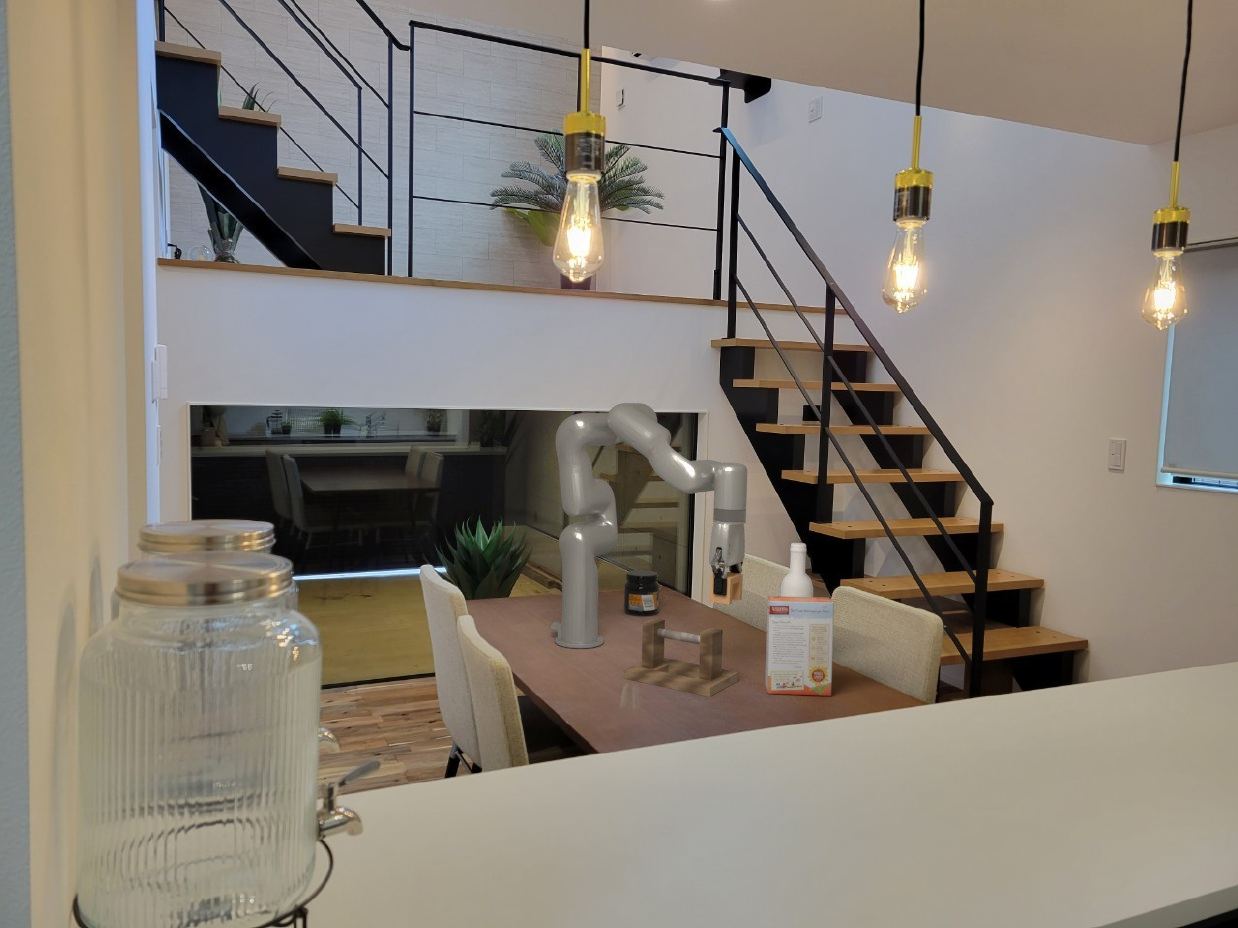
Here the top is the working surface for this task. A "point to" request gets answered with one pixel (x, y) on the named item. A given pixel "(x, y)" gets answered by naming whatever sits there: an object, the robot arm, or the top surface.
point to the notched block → (728, 589)
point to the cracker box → (799, 645)
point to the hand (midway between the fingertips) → (727, 591)
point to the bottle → (797, 574)
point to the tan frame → (659, 669)
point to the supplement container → (641, 593)
